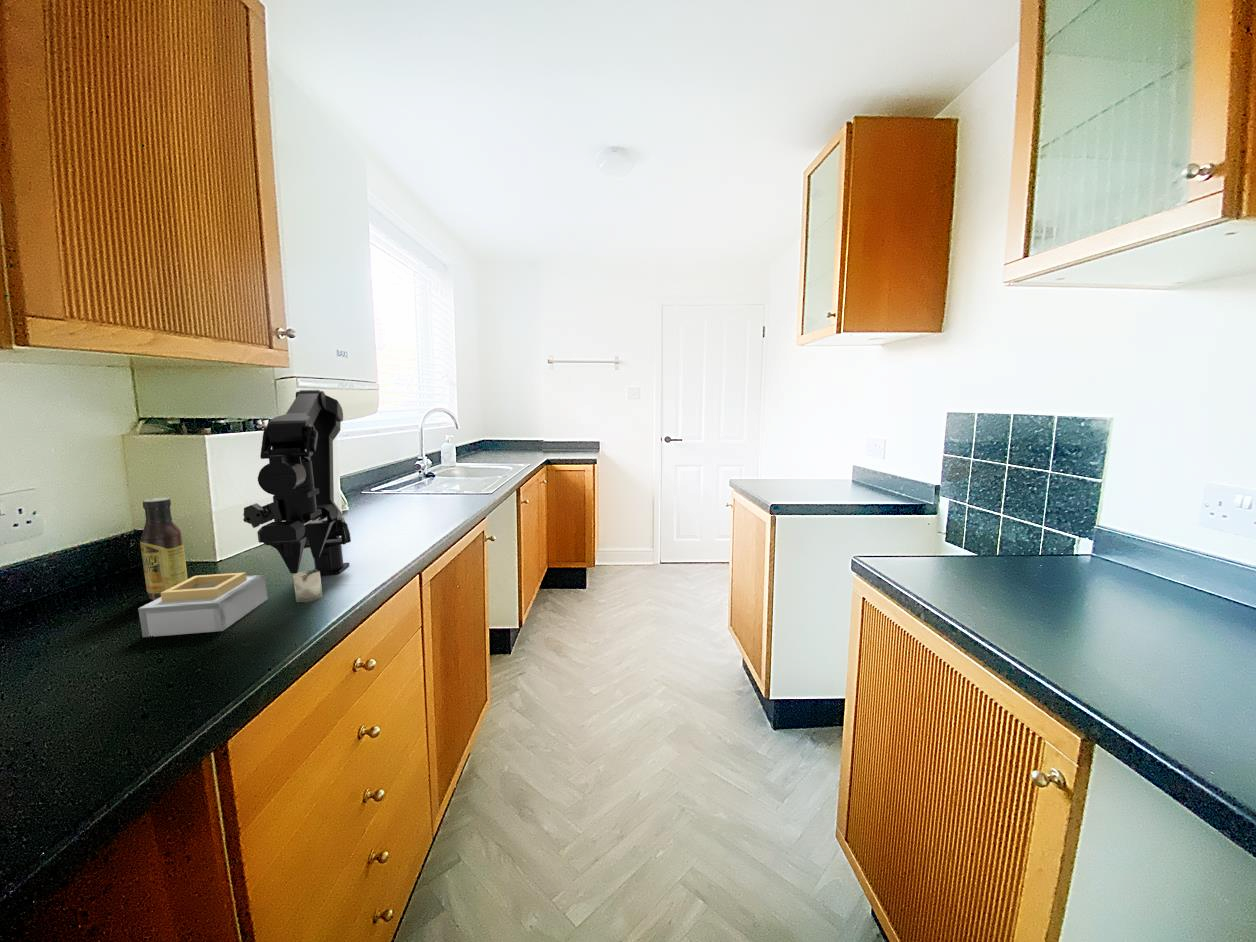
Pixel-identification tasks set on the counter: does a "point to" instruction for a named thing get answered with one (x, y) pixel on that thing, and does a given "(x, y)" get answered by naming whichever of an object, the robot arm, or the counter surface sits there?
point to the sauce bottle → (161, 548)
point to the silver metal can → (307, 586)
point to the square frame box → (203, 604)
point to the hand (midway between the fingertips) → (305, 565)
